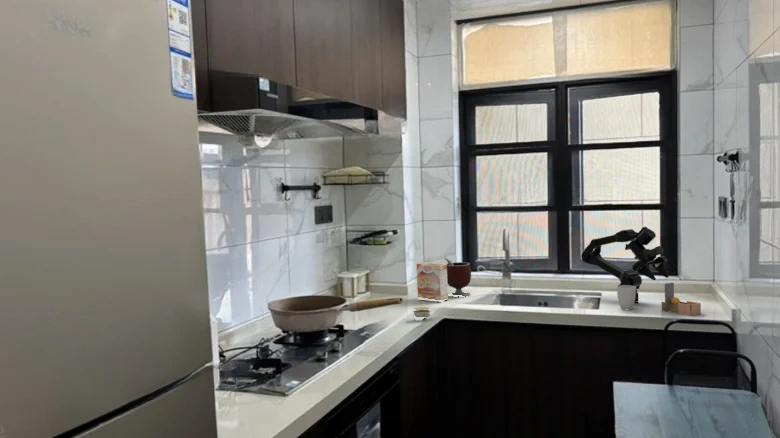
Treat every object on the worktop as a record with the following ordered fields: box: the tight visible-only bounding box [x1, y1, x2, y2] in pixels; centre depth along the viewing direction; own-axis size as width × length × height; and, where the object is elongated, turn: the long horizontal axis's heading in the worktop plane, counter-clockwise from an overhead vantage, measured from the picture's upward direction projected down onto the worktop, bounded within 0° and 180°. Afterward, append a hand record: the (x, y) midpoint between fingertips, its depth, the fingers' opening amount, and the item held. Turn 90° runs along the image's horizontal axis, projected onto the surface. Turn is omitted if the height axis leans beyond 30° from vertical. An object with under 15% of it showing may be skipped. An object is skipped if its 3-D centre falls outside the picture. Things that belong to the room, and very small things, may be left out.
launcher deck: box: [661, 301, 687, 314], centre depth 255 cm, size 8×6×4 cm
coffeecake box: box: [416, 261, 449, 300], centre depth 302 cm, size 15×7×20 cm, turn 49°
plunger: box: [664, 282, 675, 303], centre depth 256 cm, size 1×5×9 cm, turn 119°
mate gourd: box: [443, 257, 472, 297], centre depth 312 cm, size 16×14×20 cm
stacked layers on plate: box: [412, 306, 431, 318], centre depth 261 cm, size 10×9×6 cm
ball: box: [671, 296, 681, 304], centre depth 254 cm, size 4×4×4 cm
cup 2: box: [677, 300, 702, 317], centre depth 249 cm, size 6×6×4 cm
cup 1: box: [616, 285, 637, 311], centre depth 263 cm, size 8×8×10 cm
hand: (661, 278), depth 260 cm, fingers open, 9 cm apart
